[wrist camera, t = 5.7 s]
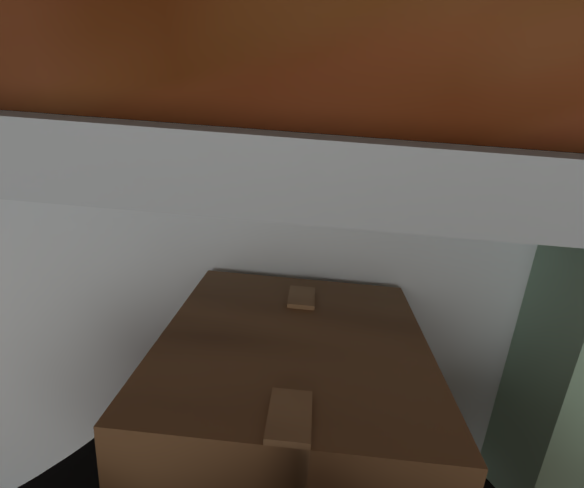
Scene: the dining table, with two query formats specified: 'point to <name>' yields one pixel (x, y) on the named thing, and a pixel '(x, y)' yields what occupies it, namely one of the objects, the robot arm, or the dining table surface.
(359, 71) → the dining table surface
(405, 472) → the cardboard box
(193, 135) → the bay
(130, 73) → the dining table surface
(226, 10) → the dining table surface
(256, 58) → the dining table surface
